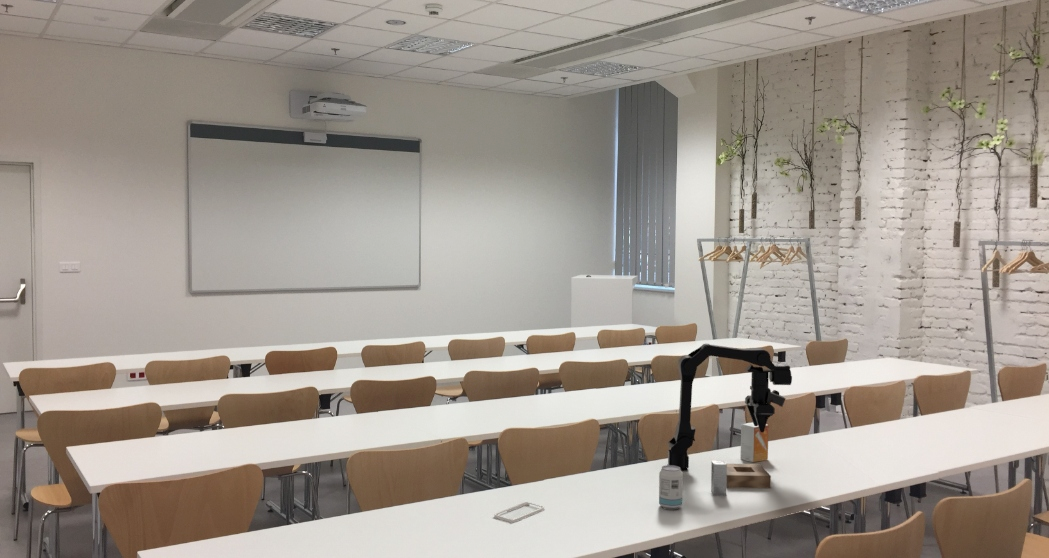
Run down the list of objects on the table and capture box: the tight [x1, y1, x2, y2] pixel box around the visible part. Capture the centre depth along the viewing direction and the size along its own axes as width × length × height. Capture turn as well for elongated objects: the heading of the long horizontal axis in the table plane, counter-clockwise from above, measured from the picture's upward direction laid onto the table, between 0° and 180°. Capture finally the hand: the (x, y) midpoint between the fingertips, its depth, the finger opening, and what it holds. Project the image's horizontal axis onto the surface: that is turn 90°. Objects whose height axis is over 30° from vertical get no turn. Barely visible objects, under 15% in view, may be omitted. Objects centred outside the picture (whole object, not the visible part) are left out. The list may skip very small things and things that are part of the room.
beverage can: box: [658, 465, 684, 511], centre depth 243 cm, size 7×7×12 cm
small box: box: [739, 421, 770, 463], centre depth 297 cm, size 8×6×13 cm
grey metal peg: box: [710, 460, 728, 497], centre depth 256 cm, size 4×4×10 cm
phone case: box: [493, 501, 545, 523], centre depth 238 cm, size 7×1×15 cm
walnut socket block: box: [726, 463, 772, 489], centre depth 270 cm, size 14×14×4 cm
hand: (758, 429), depth 283 cm, fingers open, 9 cm apart
